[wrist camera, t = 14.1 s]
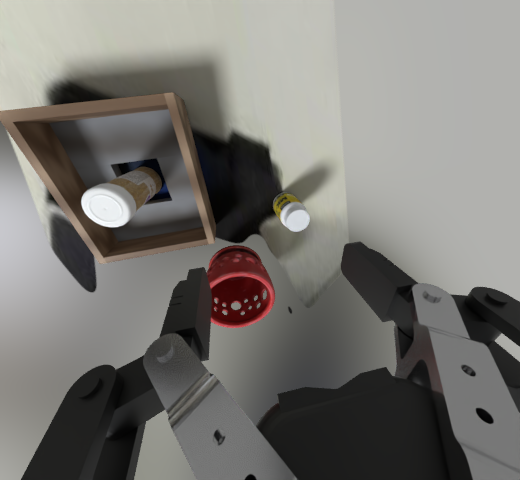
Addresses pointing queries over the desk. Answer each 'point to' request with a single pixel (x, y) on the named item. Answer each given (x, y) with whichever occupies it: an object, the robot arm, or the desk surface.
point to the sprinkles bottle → (120, 197)
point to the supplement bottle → (291, 212)
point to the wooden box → (106, 168)
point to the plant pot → (239, 286)
